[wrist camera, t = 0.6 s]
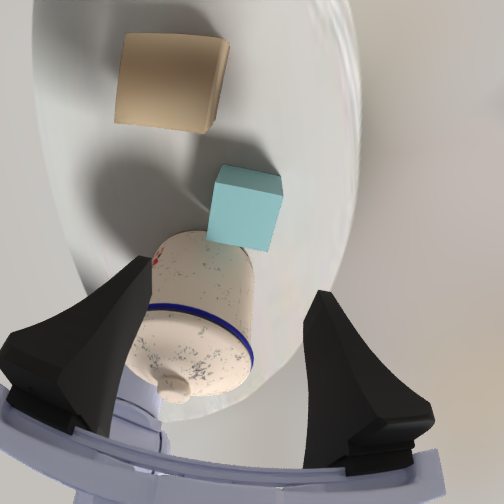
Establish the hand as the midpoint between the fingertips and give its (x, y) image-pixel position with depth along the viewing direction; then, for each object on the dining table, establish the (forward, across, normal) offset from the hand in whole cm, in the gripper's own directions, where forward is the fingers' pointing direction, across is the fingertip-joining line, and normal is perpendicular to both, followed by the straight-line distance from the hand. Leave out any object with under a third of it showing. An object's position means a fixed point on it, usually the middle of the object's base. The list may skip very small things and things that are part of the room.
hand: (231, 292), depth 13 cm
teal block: (+10, 0, 0) cm, 10 cm away
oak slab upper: (+8, +5, -8) cm, 12 cm away
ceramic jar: (+10, +2, +9) cm, 14 cm away
